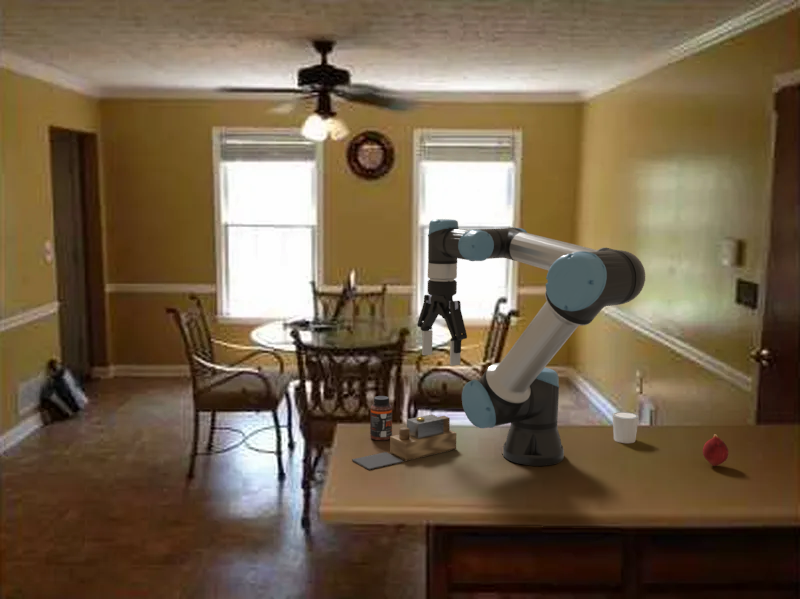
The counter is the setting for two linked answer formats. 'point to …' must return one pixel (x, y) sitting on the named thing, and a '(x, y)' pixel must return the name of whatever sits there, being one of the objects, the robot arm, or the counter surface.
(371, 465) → the mat
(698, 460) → the counter surface
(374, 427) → the supplement bottle
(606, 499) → the counter surface
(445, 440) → the body
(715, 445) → the onion
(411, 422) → the lever cap
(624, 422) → the white cup
